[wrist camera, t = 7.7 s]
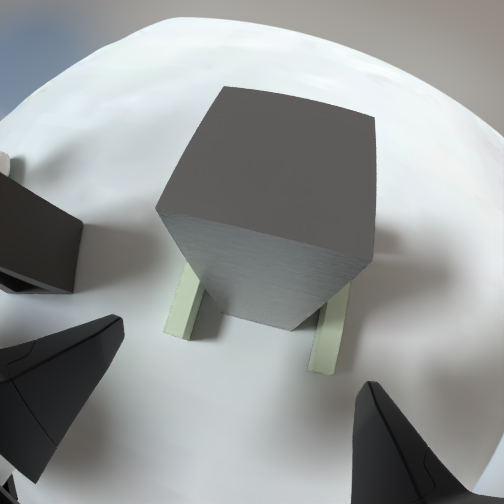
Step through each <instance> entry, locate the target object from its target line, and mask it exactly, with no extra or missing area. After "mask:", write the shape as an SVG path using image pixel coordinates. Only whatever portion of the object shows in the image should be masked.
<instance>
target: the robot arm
mask: <svg viewBox="0 0 504 504" xmlns="http://www.w3.org/2000/svg"><path fill="white" fill-rule="evenodd" d="M124 335H125V333H124V325H123V319H122V318H121V317H119V316H117V315H114V314H111V315H108V316H105V317H102V318H99V319H96V320H93V321H91V322H88V323H85V324H82V325H79V326H76V327H73V328H70V329H67V330H64V331H61V332H58V333H55V334H51V335H48V336H45V337H42V338H39V339H36V340H33V341H30V342H27V343H23V344H20V345H17V346H13V347H8V348H4V349H0V504H20V503H19V502H18V501H17V500H18V497H17V493H16V489H15V484H14V480H13V475H12V472H13V471H14V469H15V468H16V469H17V470H18V471H19V472H21V473H22V474H23V475H24V476H26V477H27V478H28V479H29V480H31V481H32V482H33V483H35V484H36V483H37V481H38V480H39V478H40V476H41V474H42V473H43V471H44V469H45V467H46V466H47V464H48V462H49V460H50V459H51V457H52V455H53V454H54V452H55V450H56V449H57V447H58V445H59V443H60V442H61V440H62V438H63V437H64V435H65V434H66V432H67V430H68V429H69V427H70V426H71V424H72V422H73V421H74V419H75V418H76V416H77V415H78V413H79V411H80V410H81V408H82V407H83V405H84V404H85V402H86V401H87V399H88V398H89V396H90V395H91V393H92V392H93V390H94V389H95V387H96V386H97V384H98V383H99V381H100V380H101V378H102V377H103V375H104V374H105V372H106V371H107V369H108V367H109V366H110V364H111V362H112V360H113V358H114V356H115V354H116V353H117V351H118V349H119V347H120V345H121V343H122V342H123V340H124ZM352 445H353V457H352V493H351V504H504V498H498V497H491V496H484V495H478V494H475V493H472V492H470V491H469V490H467V489H466V488H465V487H464V486H463V485H462V484H461V483H460V482H459V481H458V480H457V479H456V478H455V477H454V475H453V474H452V473H451V472H450V471H449V470H448V469H447V468H446V467H445V466H444V465H443V464H442V463H441V461H440V460H439V459H438V458H437V456H436V455H435V454H434V453H433V451H432V450H431V449H430V448H429V447H428V445H427V444H426V442H425V441H424V440H423V439H422V437H421V436H420V435H419V433H418V432H417V431H416V430H415V428H414V427H413V426H412V425H411V423H410V422H409V421H408V419H407V418H406V417H405V416H404V414H403V413H402V412H401V411H400V409H399V408H398V407H397V406H396V404H395V403H394V402H393V400H392V399H391V398H390V397H389V395H388V394H387V393H386V392H385V390H384V389H383V388H382V387H381V385H380V384H379V383H378V382H374V381H367V382H366V383H365V384H364V386H363V387H362V389H361V390H360V392H359V393H358V395H357V397H356V402H355V415H354V426H353V440H352Z"/></svg>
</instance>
